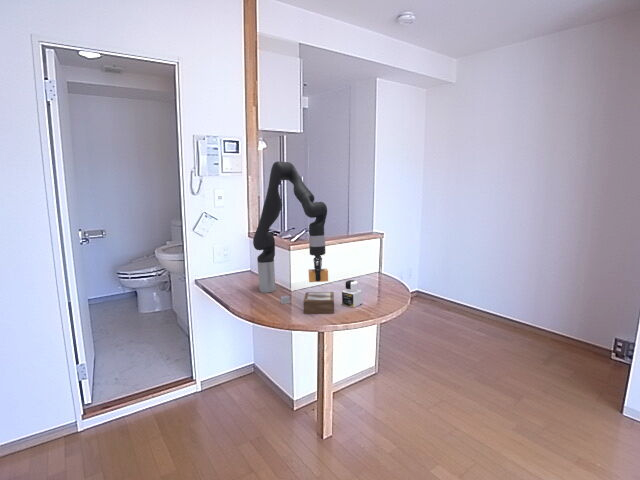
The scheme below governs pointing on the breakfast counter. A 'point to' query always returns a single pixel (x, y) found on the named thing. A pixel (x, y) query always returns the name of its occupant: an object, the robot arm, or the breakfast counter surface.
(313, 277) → the block
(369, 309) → the breakfast counter surface
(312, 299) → the brown square box
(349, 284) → the medicine bottle
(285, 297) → the grey metal block
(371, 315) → the breakfast counter surface
